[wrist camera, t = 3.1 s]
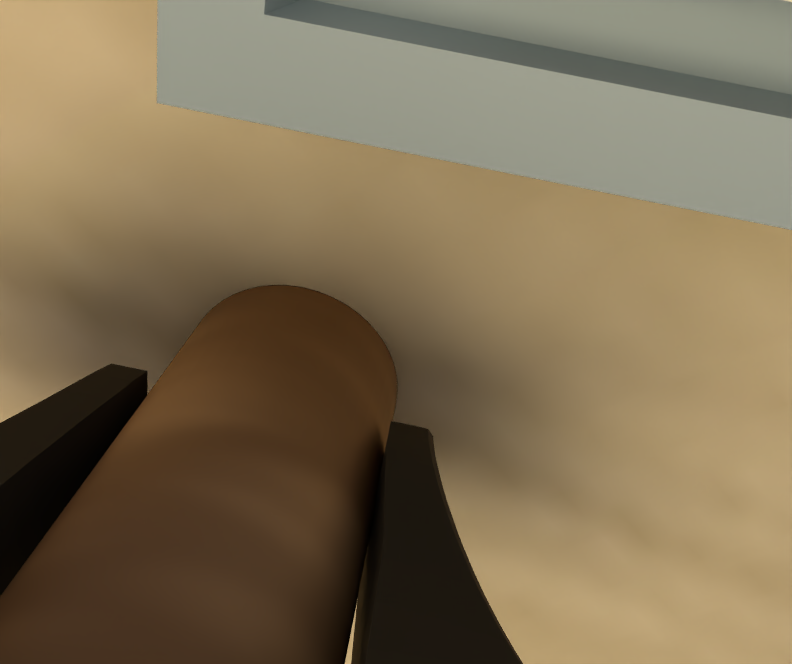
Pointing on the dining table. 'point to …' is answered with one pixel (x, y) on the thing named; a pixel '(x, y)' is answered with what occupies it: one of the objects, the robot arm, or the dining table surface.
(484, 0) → the tray
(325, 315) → the walnut peg
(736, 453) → the dining table surface
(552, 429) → the dining table surface
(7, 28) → the dining table surface
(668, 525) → the dining table surface
